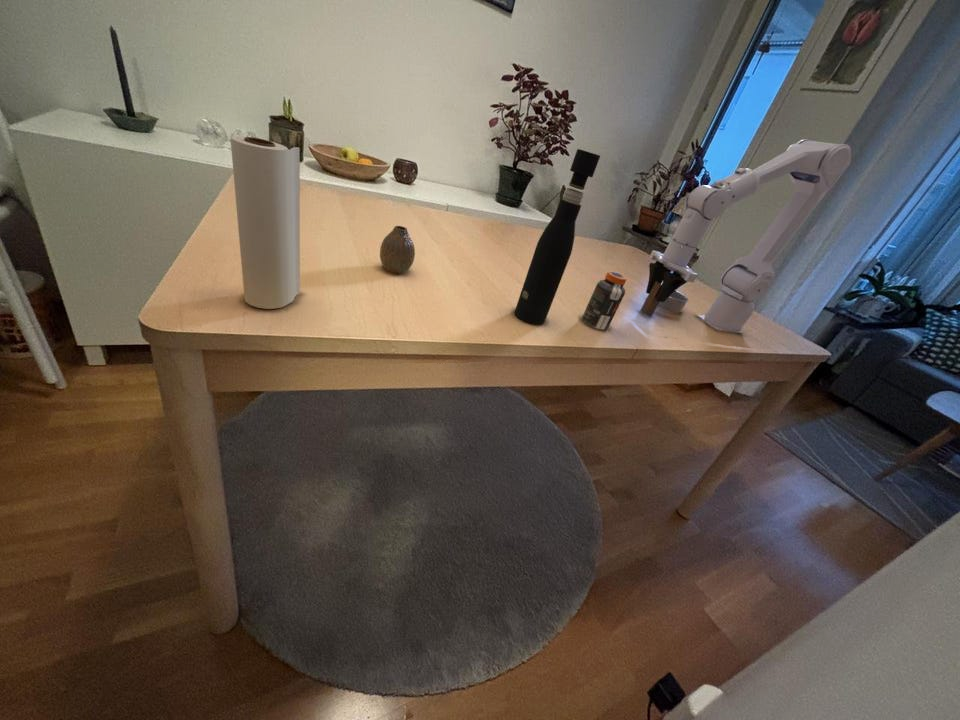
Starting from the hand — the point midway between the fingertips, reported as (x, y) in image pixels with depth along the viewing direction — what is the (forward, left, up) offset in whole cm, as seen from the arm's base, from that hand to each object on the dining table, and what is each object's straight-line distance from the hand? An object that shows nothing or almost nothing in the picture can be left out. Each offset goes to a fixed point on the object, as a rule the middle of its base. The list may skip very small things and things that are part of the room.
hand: (654, 297), depth 93 cm
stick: (0, 0, -5) cm, 5 cm away
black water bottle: (+36, +10, -5) cm, 38 cm away
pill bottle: (+20, +9, -5) cm, 22 cm away
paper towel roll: (+81, +16, -5) cm, 83 cm away
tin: (-12, -8, -5) cm, 15 cm away
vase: (+62, -4, -5) cm, 62 cm away
